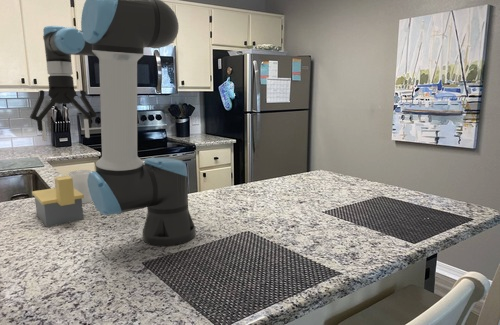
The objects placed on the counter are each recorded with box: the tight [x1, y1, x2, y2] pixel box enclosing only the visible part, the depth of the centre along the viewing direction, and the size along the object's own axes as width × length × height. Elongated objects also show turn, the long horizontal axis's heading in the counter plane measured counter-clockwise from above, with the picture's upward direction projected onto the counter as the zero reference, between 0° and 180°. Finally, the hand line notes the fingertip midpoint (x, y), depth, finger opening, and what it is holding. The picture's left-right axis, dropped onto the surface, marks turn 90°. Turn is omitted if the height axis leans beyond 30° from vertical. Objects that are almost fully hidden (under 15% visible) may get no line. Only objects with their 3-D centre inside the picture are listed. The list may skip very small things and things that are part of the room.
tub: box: [34, 197, 84, 228], centre depth 127 cm, size 15×11×8 cm
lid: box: [31, 175, 84, 206], centre depth 123 cm, size 21×12×8 cm, turn 39°
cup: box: [68, 169, 94, 205], centre depth 145 cm, size 9×9×12 cm
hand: (66, 139), depth 130 cm, fingers open, 13 cm apart
